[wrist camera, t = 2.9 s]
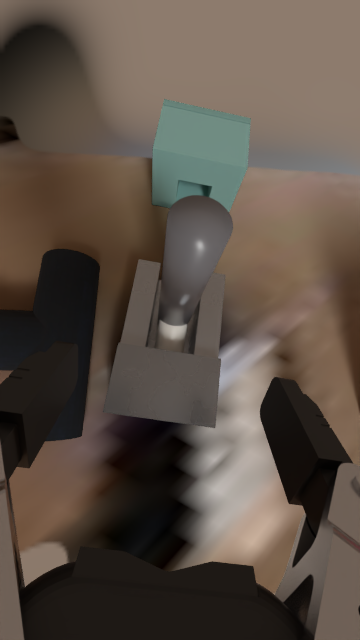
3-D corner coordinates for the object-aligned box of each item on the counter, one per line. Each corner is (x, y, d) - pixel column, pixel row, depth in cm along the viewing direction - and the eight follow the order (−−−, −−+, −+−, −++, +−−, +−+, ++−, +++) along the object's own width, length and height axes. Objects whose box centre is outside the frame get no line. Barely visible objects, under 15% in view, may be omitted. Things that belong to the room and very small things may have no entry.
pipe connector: (-122, 445, 16) (-54, 239, 20) (-58, 435, 21) (-15, 271, 25) (72, 441, 17) (94, 250, 22) (88, 432, 22) (103, 278, 27)
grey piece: (144, 390, 22) (137, 372, 9) (174, 224, 28) (196, 64, 15) (178, 395, 23) (219, 384, 9) (200, 229, 28) (245, 76, 15)
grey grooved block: (113, 410, 23) (102, 411, 18) (140, 280, 27) (138, 252, 22) (201, 422, 23) (215, 427, 18) (214, 293, 27) (228, 269, 22)
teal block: (151, 204, 30) (152, 148, 23) (161, 161, 32) (164, 99, 26) (226, 219, 31) (247, 168, 24) (230, 175, 33) (250, 118, 26)
